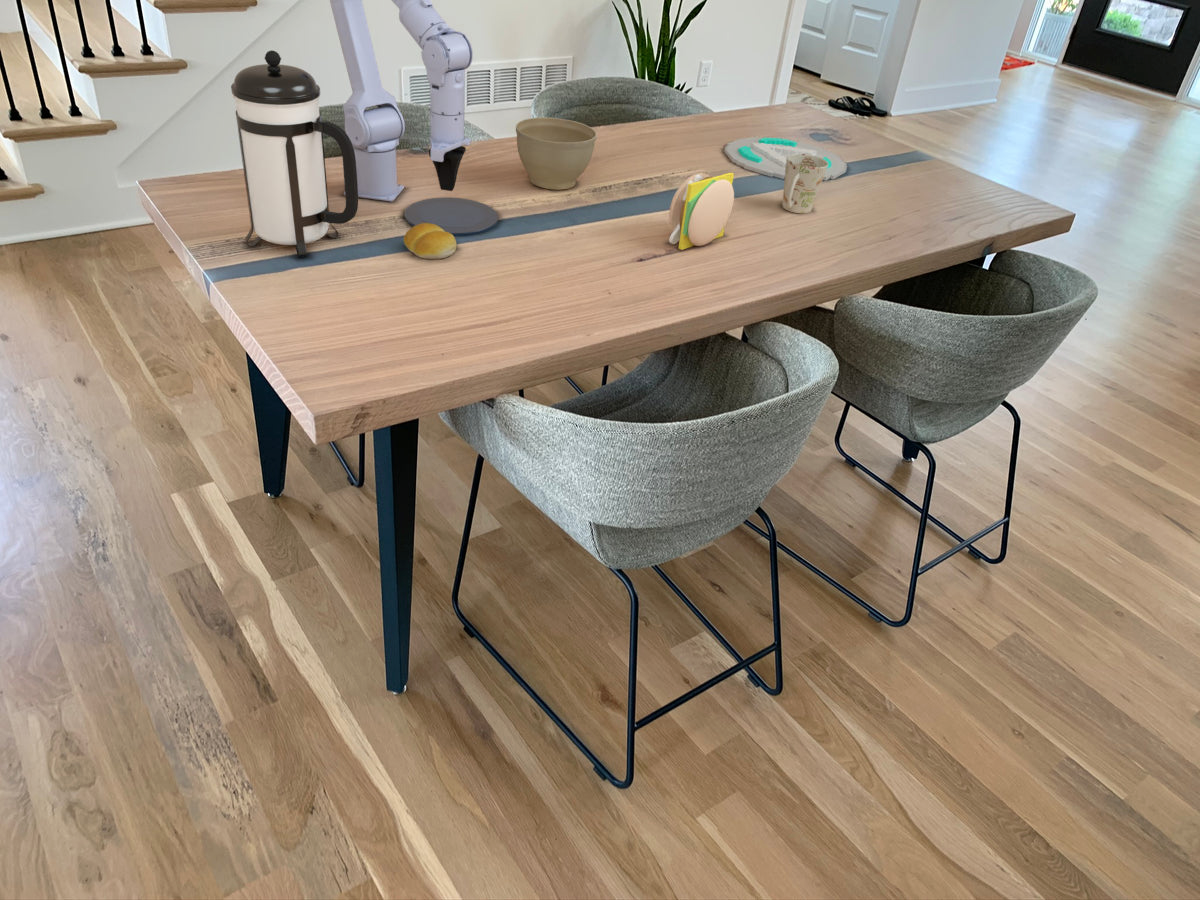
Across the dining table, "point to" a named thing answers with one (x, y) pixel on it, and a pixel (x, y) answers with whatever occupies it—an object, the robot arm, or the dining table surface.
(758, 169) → the grey flat disc
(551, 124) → the planter bowl
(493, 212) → the plate
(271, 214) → the coffee press
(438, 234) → the bread roll
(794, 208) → the mug
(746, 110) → the dining table surface
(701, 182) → the hamburger
